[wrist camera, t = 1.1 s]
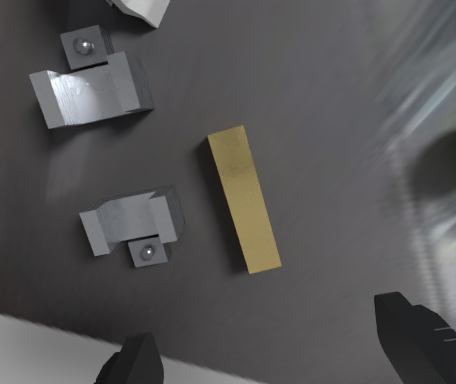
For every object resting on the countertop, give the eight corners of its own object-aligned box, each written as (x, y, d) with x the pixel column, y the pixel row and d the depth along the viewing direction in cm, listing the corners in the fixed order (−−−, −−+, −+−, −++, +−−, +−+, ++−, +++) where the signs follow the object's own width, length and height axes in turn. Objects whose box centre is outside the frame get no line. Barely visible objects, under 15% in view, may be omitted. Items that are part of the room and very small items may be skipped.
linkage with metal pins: (121, 262, 30) (104, 284, 26) (48, 45, 25) (14, 33, 21) (192, 249, 29) (185, 269, 25) (132, 24, 24) (112, 8, 20)
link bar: (248, 258, 30) (249, 273, 27) (210, 133, 27) (207, 135, 24) (277, 251, 29) (281, 266, 27) (242, 123, 26) (242, 125, 23)
